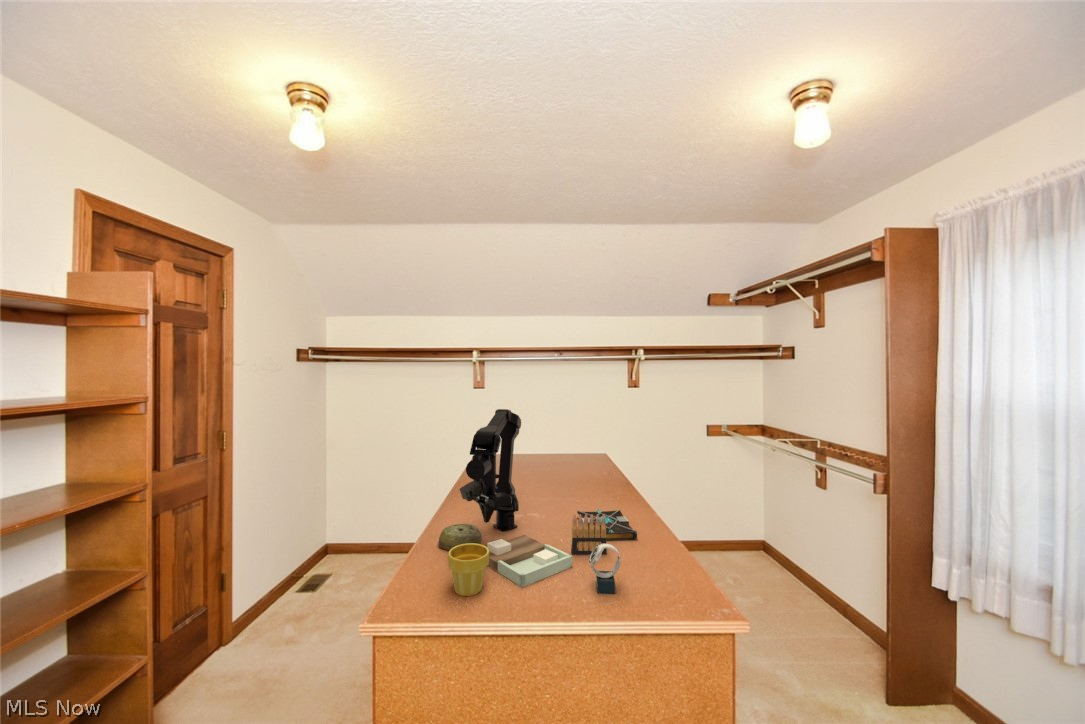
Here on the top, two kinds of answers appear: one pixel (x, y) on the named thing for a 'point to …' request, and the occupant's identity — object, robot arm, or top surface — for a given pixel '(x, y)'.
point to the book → (612, 524)
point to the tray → (535, 568)
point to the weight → (459, 535)
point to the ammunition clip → (587, 535)
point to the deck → (516, 551)
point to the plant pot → (468, 567)
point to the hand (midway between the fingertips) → (486, 522)
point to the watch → (604, 578)
